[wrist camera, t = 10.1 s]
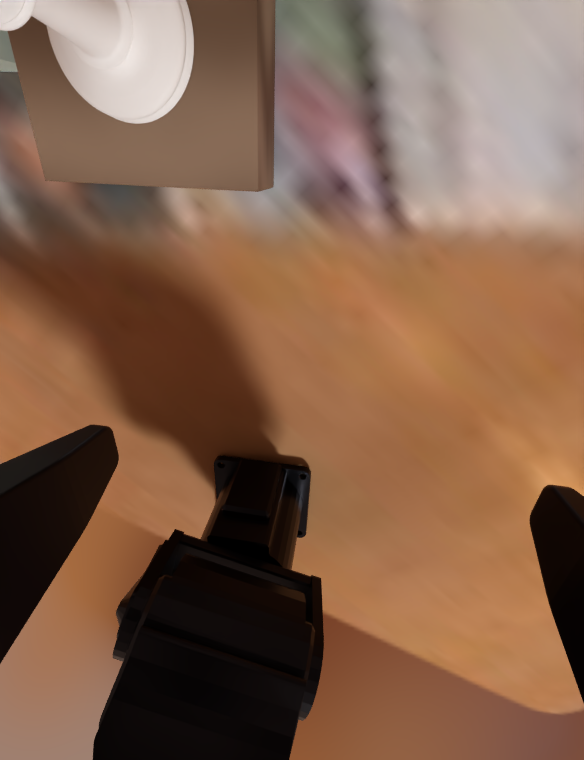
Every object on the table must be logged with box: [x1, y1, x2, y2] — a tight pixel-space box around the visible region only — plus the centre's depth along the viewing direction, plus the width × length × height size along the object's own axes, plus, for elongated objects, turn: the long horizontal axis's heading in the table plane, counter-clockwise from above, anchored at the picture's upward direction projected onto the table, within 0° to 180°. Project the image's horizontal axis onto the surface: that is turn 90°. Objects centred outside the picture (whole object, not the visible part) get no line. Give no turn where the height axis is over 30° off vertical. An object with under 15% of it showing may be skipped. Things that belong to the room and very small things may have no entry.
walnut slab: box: [8, 0, 275, 192], centre depth 14 cm, size 9×9×3 cm
